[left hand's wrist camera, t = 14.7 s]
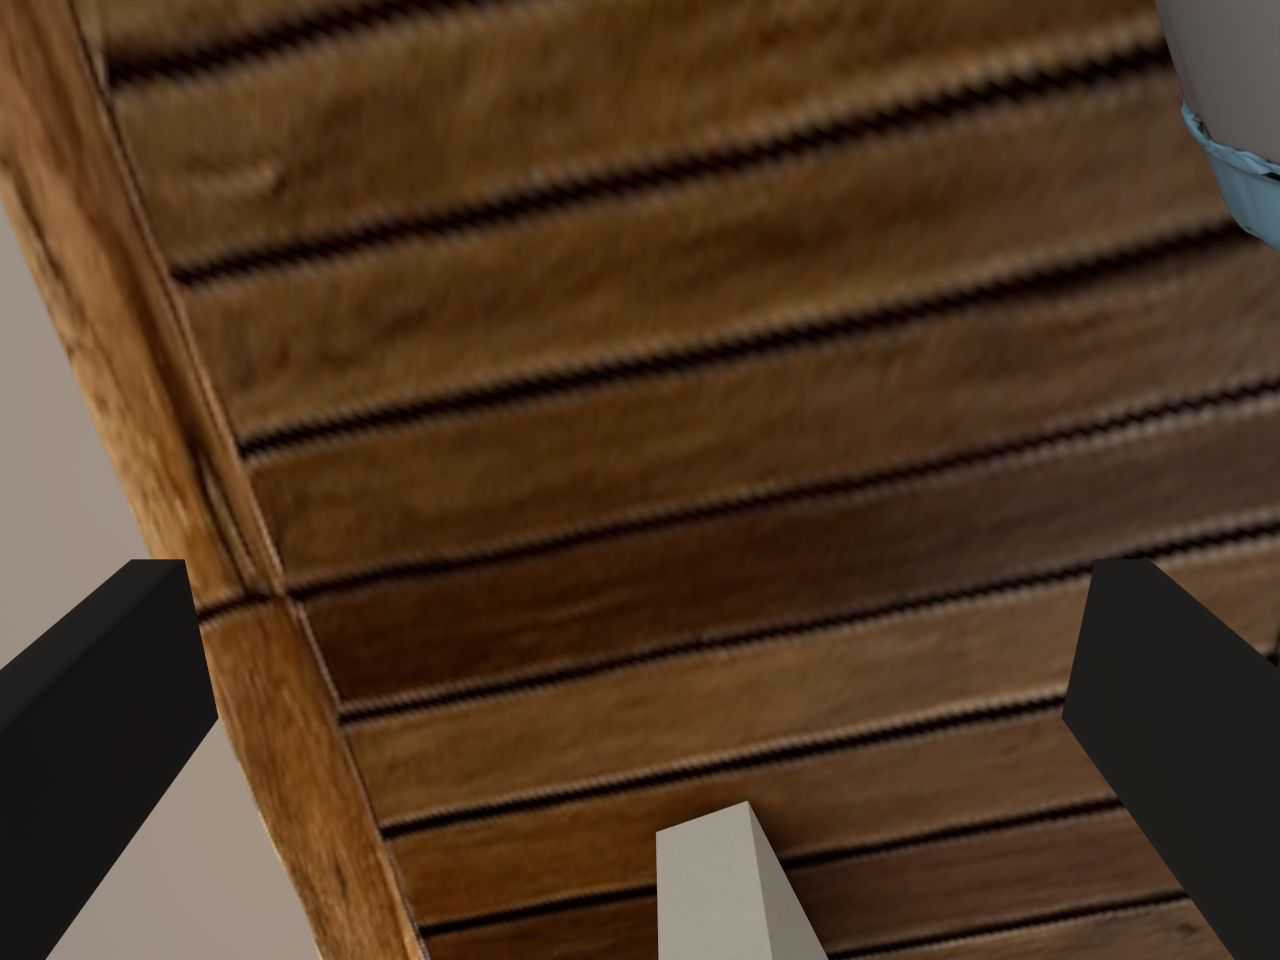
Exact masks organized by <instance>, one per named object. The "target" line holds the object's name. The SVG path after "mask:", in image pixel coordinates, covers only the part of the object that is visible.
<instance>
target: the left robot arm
mask: <svg viewBox="0 0 1280 960" xmlns="http://www.w3.org/2000/svg"><path fill="white" fill-rule="evenodd" d="M1154 3H1155V6H1156V9H1157V13H1158V16H1159V19H1160V22H1161V25H1162V28H1163V32H1164V35H1165V38H1166V41H1167V44H1168V48H1169V51H1170V54H1171V57H1172V60H1173V63H1174V67H1175V70H1176V73H1177V76H1178V79H1179V82H1180V86H1181V89H1182V92H1183V95H1184V97H1183V100H1182V104H1181V111H1182V114H1183V117H1184V121H1185V125H1186V126H1187V128H1188V130H1189V132H1190V133H1191V135H1192V137H1193V138H1194V139H1195V140H1196V141H1197V142H1198V143H1199V144H1201V145H1202V146H1203V147H1204V150H1205V152H1206V155H1207V158H1208V160H1209V163H1210V165H1211V168H1212V170H1213V173H1214V175H1215V178H1216V181H1217V183H1218V186H1219V189H1220V191H1221V194H1222V197H1223V199H1224V202H1225V204H1226V206H1227V208H1228V210H1229V212H1230V214H1231V215H1232V216H1233V218H1234V219H1235V220H1236V222H1237V223H1238V224H1239V225H1240V226H1241V228H1243V229H1244V230H1245V231H1246V232H1248V233H1250V234H1252V235H1254V236H1256V237H1258V238H1260V239H1262V240H1263V241H1264V242H1265V243H1267V244H1269V245H1270V246H1272V247H1273V248H1274V249H1275V250H1277V251H1279V252H1280V0H1154ZM218 718H219V717H218V713H217V708H216V703H215V699H214V694H213V690H212V685H211V680H210V676H209V671H208V666H207V662H206V657H205V652H204V648H203V643H202V638H201V634H200V629H199V624H198V620H197V615H196V611H195V606H194V601H193V597H192V592H191V587H190V583H189V578H188V573H187V569H186V564H185V559H131V560H130V561H129V562H128V563H127V564H125V565H124V566H123V567H122V568H121V569H119V570H118V571H117V572H116V573H115V574H114V575H112V576H111V577H110V578H109V579H108V580H106V581H105V582H104V583H103V584H102V585H101V586H99V587H98V588H97V589H96V590H95V591H93V592H92V593H91V594H90V595H89V596H87V597H86V598H85V599H84V600H83V601H82V602H80V603H79V604H78V605H77V606H76V607H74V608H73V609H72V610H71V611H70V612H69V613H67V614H66V615H65V616H64V617H63V618H61V619H60V620H59V621H58V622H57V623H56V624H54V625H53V626H52V627H51V628H50V629H48V630H47V631H46V632H45V633H44V634H43V635H41V636H40V637H39V638H38V639H37V640H36V641H34V642H33V643H32V644H31V645H29V646H28V647H27V648H26V649H25V650H24V651H22V652H21V653H20V654H19V655H18V656H17V657H15V658H14V659H13V660H12V661H11V662H9V663H8V664H7V665H6V666H5V667H3V668H2V669H1V670H0V960H45V959H46V958H47V957H48V955H49V954H50V953H51V951H52V950H53V948H54V947H55V945H56V944H57V943H58V941H59V940H60V939H61V937H62V936H63V934H64V933H65V932H66V930H67V929H68V927H69V926H70V925H71V923H72V922H73V920H74V919H75V918H76V916H77V915H78V913H79V912H80V911H81V909H82V908H83V906H84V905H85V904H86V902H87V901H88V899H89V898H90V897H91V895H92V894H93V893H94V891H95V890H96V888H97V887H98V886H99V884H100V883H101V881H102V880H103V879H104V877H105V876H106V874H107V873H108V872H109V870H110V869H111V867H112V866H113V865H114V863H115V862H116V860H117V859H118V858H119V856H120V855H121V853H122V852H123V851H124V849H125V848H126V846H127V845H128V844H129V842H130V841H131V839H132V838H133V837H134V835H135V834H136V833H137V831H138V830H139V828H140V827H141V826H142V824H143V823H144V821H145V820H146V819H147V817H148V816H149V814H150V813H151V812H152V810H153V809H154V807H155V806H156V805H157V803H158V802H159V800H160V799H161V798H162V796H163V795H164V793H165V792H166V791H167V789H168V788H169V786H170V785H171V784H172V782H173V781H174V779H175V778H176V777H177V775H178V774H179V772H180V771H181V770H182V768H183V767H184V766H185V764H186V763H187V761H188V760H189V759H190V757H191V756H192V754H193V753H194V752H195V750H196V749H197V747H198V746H199V745H200V743H201V742H202V740H203V739H204V738H205V736H206V735H207V733H208V732H209V731H210V729H211V728H212V726H213V725H214V724H215V722H216V721H217V719H218ZM1061 718H1062V719H1063V721H1064V722H1065V724H1066V725H1067V726H1068V728H1069V729H1070V731H1071V732H1072V733H1073V735H1074V736H1075V738H1076V739H1077V740H1078V742H1079V743H1080V745H1081V746H1082V747H1083V749H1084V750H1085V752H1086V753H1087V754H1088V756H1089V757H1090V759H1091V760H1092V761H1093V763H1094V764H1095V766H1096V767H1097V768H1098V770H1099V771H1100V773H1101V774H1102V775H1103V777H1104V778H1105V779H1106V781H1107V782H1108V784H1109V785H1110V786H1111V788H1112V789H1113V791H1114V792H1115V793H1116V795H1117V796H1118V798H1119V799H1120V800H1121V802H1122V803H1123V805H1124V806H1125V807H1126V809H1127V810H1128V812H1129V813H1130V814H1131V816H1132V817H1133V819H1134V820H1135V821H1136V823H1137V824H1138V826H1139V827H1140V828H1141V830H1142V831H1143V833H1144V834H1145V835H1146V837H1147V838H1148V839H1149V841H1150V842H1151V844H1152V845H1153V846H1154V848H1155V849H1156V851H1157V852H1158V853H1159V855H1160V856H1161V858H1162V859H1163V860H1164V862H1165V863H1166V865H1167V866H1168V867H1169V869H1170V870H1171V872H1172V873H1173V874H1174V876H1175V877H1176V879H1177V880H1178V881H1179V883H1180V884H1181V886H1182V887H1183V888H1184V890H1185V891H1186V893H1187V894H1188V895H1189V897H1190V898H1191V900H1192V901H1193V902H1194V904H1195V905H1196V906H1197V908H1198V909H1199V911H1200V912H1201V913H1202V915H1203V916H1204V918H1205V919H1206V920H1207V922H1208V923H1209V925H1210V926H1211V927H1212V929H1213V930H1214V932H1215V933H1216V934H1217V936H1218V937H1219V939H1220V940H1221V941H1222V943H1223V944H1224V946H1225V947H1226V948H1227V950H1228V951H1229V953H1230V954H1231V955H1232V957H1233V958H1234V960H1280V670H1279V669H1278V668H1277V667H1275V666H1274V665H1273V664H1272V663H1271V662H1269V661H1268V660H1267V659H1266V658H1265V657H1264V656H1262V655H1261V654H1260V653H1259V652H1258V651H1256V650H1255V649H1254V648H1253V647H1252V646H1251V645H1249V644H1248V643H1247V642H1246V641H1245V640H1243V639H1242V638H1241V637H1240V636H1239V635H1237V634H1236V633H1235V632H1234V631H1233V630H1232V629H1230V628H1229V627H1228V626H1227V625H1226V624H1224V623H1223V622H1222V621H1221V620H1220V619H1219V618H1217V617H1216V616H1215V615H1214V614H1213V613H1211V612H1210V611H1209V610H1208V609H1207V608H1206V607H1204V606H1203V605H1202V604H1201V603H1200V602H1198V601H1197V600H1196V599H1195V598H1194V597H1192V596H1191V595H1190V594H1189V593H1188V592H1187V591H1185V590H1184V589H1183V588H1182V587H1181V586H1179V585H1178V584H1177V583H1176V582H1175V581H1174V580H1172V579H1171V578H1170V577H1169V576H1168V575H1166V574H1165V573H1164V572H1163V571H1162V570H1161V569H1159V568H1158V567H1157V566H1156V565H1155V564H1153V563H1152V562H1151V561H1150V560H1149V559H1095V564H1094V569H1093V573H1092V578H1091V583H1090V587H1089V592H1088V597H1087V601H1086V606H1085V611H1084V615H1083V620H1082V624H1081V629H1080V634H1079V638H1078V643H1077V648H1076V652H1075V657H1074V662H1073V666H1072V671H1071V676H1070V680H1069V685H1068V690H1067V694H1066V699H1065V703H1064V708H1063V713H1062V717H1061Z"/></svg>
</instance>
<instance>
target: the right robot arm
mask: <svg viewBox="0 0 1280 960" xmlns="http://www.w3.org/2000/svg"><path fill="white" fill-rule="evenodd" d="M1274 666H1275V667H1277V668H1278V669H1279V670H1280V635H1279V637H1278V640H1277V643H1276V647H1275V652H1274Z"/></svg>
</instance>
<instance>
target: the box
mask: <svg viewBox="0 0 1280 960" xmlns="http://www.w3.org/2000/svg"><path fill="white" fill-rule="evenodd" d="M656 848H657V895H658V943H659V960H828V958H827V956H826V954H825V952H824V950H823V948H822V946H821V944H820V942H819V940H818V938H817V936H816V934H815V932H814V930H813V928H812V926H811V924H810V922H809V920H808V918H807V917H806V915H805V913H804V911H803V909H802V907H801V905H800V903H799V901H798V899H797V897H796V895H795V893H794V891H793V889H792V887H791V885H790V883H789V881H788V879H787V877H786V875H785V873H784V871H783V869H782V867H781V865H780V863H779V861H778V859H777V857H776V855H775V853H774V851H773V850H772V848H771V846H770V844H769V842H768V840H767V838H766V836H765V834H764V832H763V830H762V828H761V826H760V824H759V822H758V820H757V818H756V816H755V814H754V812H753V810H752V808H751V806H750V804H749V802H748V801H745V802H742V803H739V804H737V805H734V806H731V807H728V808H725V809H722V810H719V811H716V812H713V813H711V814H708V815H705V816H702V817H699V818H696V819H693V820H690V821H687V822H684V823H682V824H679V825H676V826H673V827H670V828H667V829H664V830H661V831H658V832H656Z"/></svg>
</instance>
